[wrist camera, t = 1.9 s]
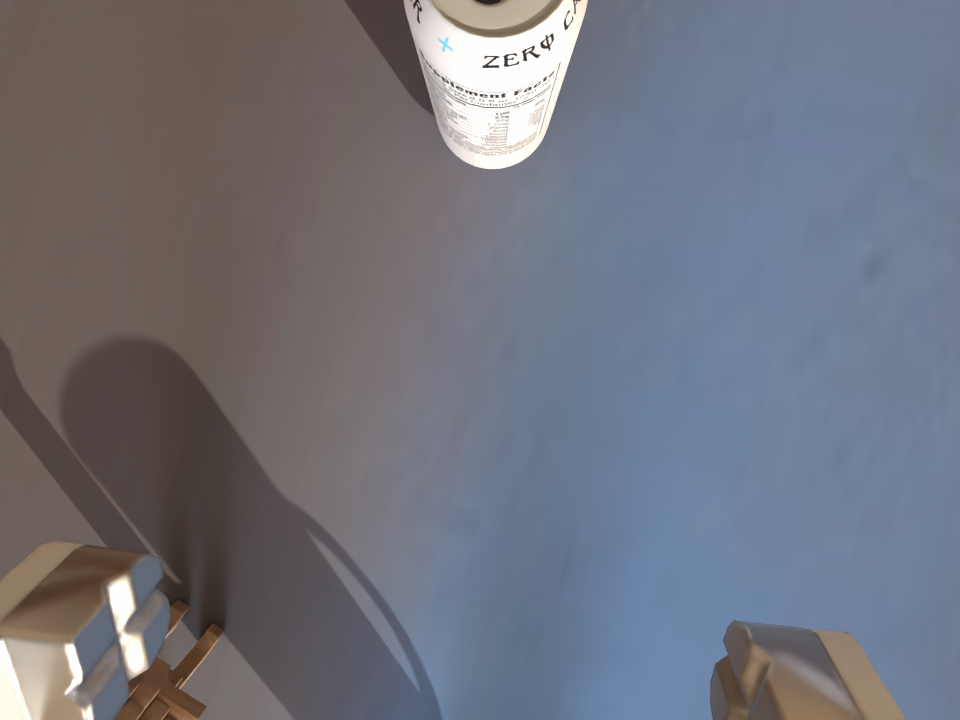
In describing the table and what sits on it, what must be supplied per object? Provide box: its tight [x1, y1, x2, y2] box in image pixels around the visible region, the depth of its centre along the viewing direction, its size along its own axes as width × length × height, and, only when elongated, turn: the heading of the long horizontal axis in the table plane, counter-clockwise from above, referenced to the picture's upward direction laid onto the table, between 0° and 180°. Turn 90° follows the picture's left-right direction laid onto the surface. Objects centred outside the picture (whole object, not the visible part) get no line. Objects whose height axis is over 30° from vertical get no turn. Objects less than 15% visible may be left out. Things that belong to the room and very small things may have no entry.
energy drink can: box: [404, 0, 588, 169], centre depth 25 cm, size 6×6×15 cm
